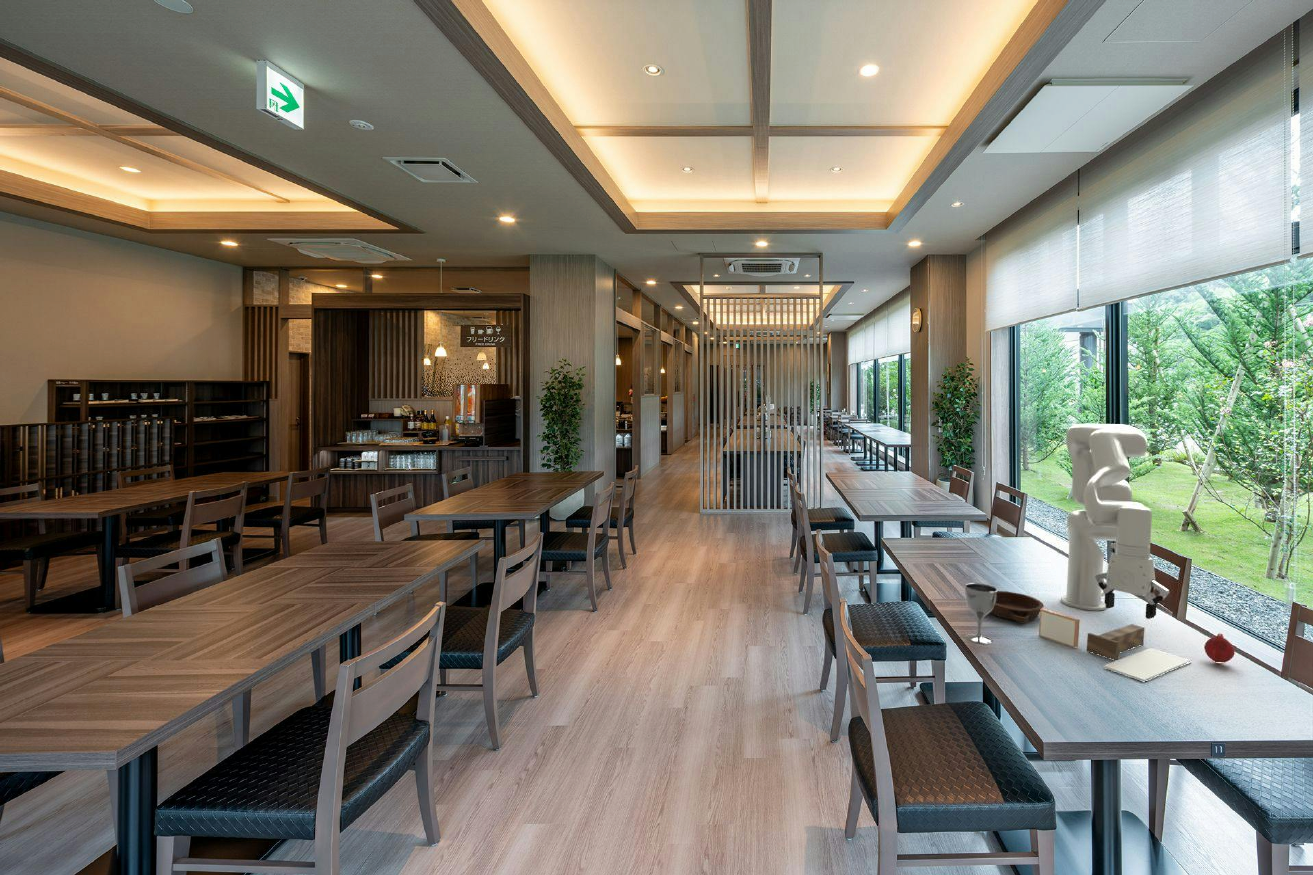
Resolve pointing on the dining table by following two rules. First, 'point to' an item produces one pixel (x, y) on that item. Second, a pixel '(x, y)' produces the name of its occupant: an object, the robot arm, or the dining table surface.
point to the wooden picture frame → (1059, 627)
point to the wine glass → (980, 607)
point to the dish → (1016, 606)
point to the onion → (1219, 649)
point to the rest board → (1146, 664)
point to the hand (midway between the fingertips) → (1129, 612)
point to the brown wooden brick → (1115, 641)
